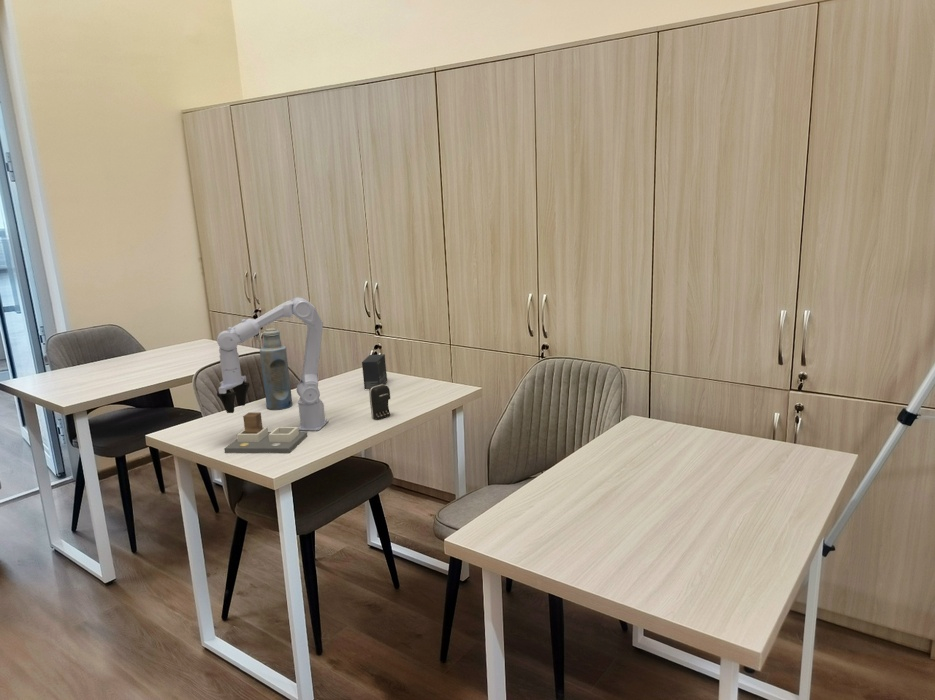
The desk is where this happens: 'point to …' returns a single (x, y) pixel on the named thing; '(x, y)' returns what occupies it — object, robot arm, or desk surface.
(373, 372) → the small box
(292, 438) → the socket board
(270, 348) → the bottle
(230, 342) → the robot arm
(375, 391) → the battery charger
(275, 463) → the desk surface
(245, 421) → the walnut peg
